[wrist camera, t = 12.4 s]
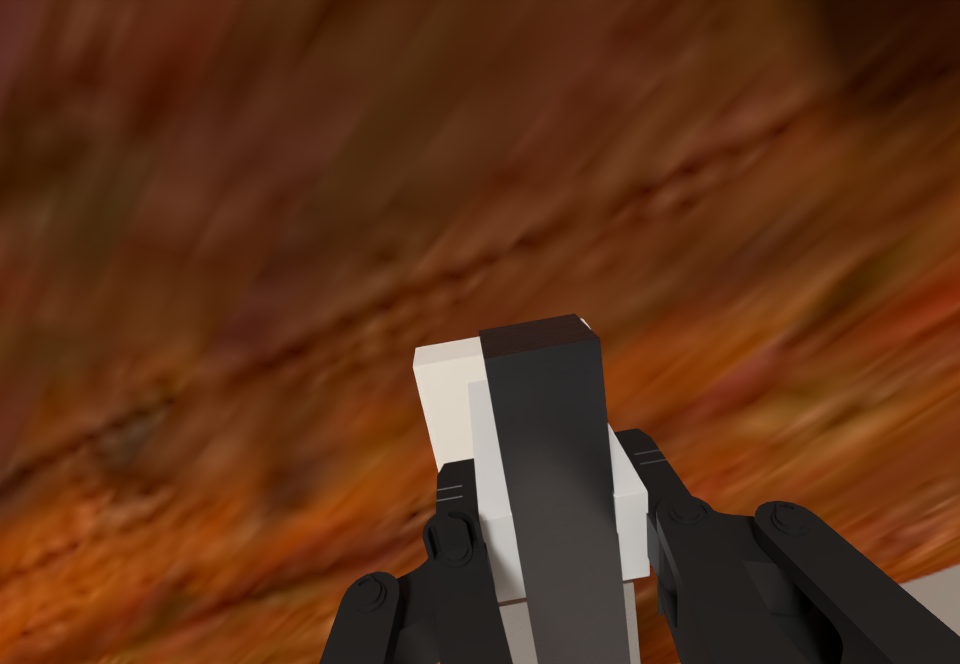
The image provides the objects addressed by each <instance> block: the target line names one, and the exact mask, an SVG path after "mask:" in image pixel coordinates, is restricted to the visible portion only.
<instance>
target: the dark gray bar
mask: <svg viewBox="0 0 960 664" xmlns="http://www.w3.org/2000/svg"><path fill="white" fill-rule="evenodd" d="M479 337H480V343H481V348H482V354H483V359H484V365H485V371H486V376H487V382H488V388H489V393H490V399H491V404H492V410H493V416H494V421H495V427H496V433H497V438H498V444H499V449H500V455H501V461H502V466H503V471H504V477H505V482H506V487H507V493H508V498H509V504H510V509H511V513H512V518H513V524H514V529H515V535H516V541H517V542H516V543H517V548H518V554H519V560H520V565H521V571H522V577H523V582H524V588H525V594H526V597H525V598H520V599H514V600H508V601H502V602H498V604H499V608H500V613H501V617H502V621H503V625H504V629H505V633H506V637H507V641H508V645H509V649H510V653H511V657H512V661H513V664H640V653H639V641H638V630H637V618H636V607H635V595H634V584H633V580H632V579H629V580H623V577H622V567H621V556H620V546H619V535H618V533H617V526H616V516H615V505H614V495H613V494H615V493H614V483H613V473H612V462H611V452H610V441H609V431H608V420H607V410H606V399H605V389H604V378H603V368H602V357H601V347H600V338H599V337H598V336H597V335H596V334H595V333H594V332H593V331H592V330H591V329H590V328H589V327H588V326H587V325H586V324H585V323H584V322H583V321H582V320H581V319H580V318H579V317H578V316H577V315H575V314H570V315H564V316H558V317H553V318H547V319H542V320H536V321H531V322H525V323H519V324H514V325H508V326H503V327H497V328H491V329H486V330H480V331H479Z"/></svg>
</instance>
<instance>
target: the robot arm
mask: <svg viewBox="0 0 960 664" xmlns="http://www.w3.org/2000/svg"><path fill="white" fill-rule="evenodd" d="M468 393H469V405H470V417H471V428H472V440H473V452H474V458H472V459H466V460H460V461H455V462H449V463H444V465H443V466H442V468H441V470H440V472H439V474H438V475H437V502H436V514H435V515H434V516H433V517H431V518H430V519H429V520H428V522H427V524H426V525H425V527H424V530H423V536H422V537H423V540H424V544H425V547H426V551H427V554H428V559H427V560H426V562H424V563H423V564H422V565H421V566H420V567H419V568H417V569H415V570H414V571H412V572H410V573H408V574H406V575H404V576H402V577H400V578H397V579H396V578H395V577H394V576H392V575H391V574H389V573H386V572H374V573H370V574H366V575H365V576H363V577H361V578H359V579H358V580H356V581H355V582H354V583H353V584H352V585H351V586H350V587H349V588H348V589H347V591H346V593H345V595H344V596H343V598H342V600H341V603H340V606H339V609H338V612H337V615H336V618H335V620H334V623H333V626H332V629H331V632H330V635H329V638H328V640H327V643H326V646H325V649H324V652H323V655H322V657H321V660H320V663H319V664H436V663H438V662H440V664H513V661H512V657H511V653H510V649H509V645H508V641H507V637H506V633H505V629H504V625H503V621H502V617H501V613H500V608H499V604H498V602H502V601H508V600H514V599H520V598H525V597H526V594H525V588H524V582H523V577H522V571H521V565H520V560H519V554H518V548H517V543H516V542H517V541H516V535H515V529H514V524H513V518H512V513H511V509H510V504H509V498H508V493H507V487H506V482H505V477H504V471H503V466H502V461H501V455H500V449H499V444H498V438H497V433H496V427H495V421H494V416H493V410H492V404H491V399H490V393H489V388H488V382H487V380H482V381H476V382H470V383H468ZM608 431H609V441H610V452H611V462H612V473H613V483H614V493H615V494H613V495H614V505H615V516H616V526H617V533H618V535H619V546H620V556H621V567H622V577H623V580H629V579H634V578H640V577H646V576H650V567H649V561H650V563H651V565H652V567H653V569H654V571H655V573H656V575H657V588H658V613H659V615H663V609H664V612H665V615H666V618H667V622H668V625H669V628H670V631H671V634H672V637H673V640H674V643H675V646H676V649H677V652H678V655H679V658H680V661H681V664H960V636H958V635H957V634H956V633H955V632H954V631H952V630H951V629H950V628H949V627H948V626H947V625H945V624H944V623H943V622H942V621H940V620H939V619H938V618H937V617H936V616H935V615H934V614H932V613H931V612H930V611H929V610H928V609H926V608H925V607H924V606H923V605H922V604H921V603H919V602H918V601H917V600H916V599H915V598H913V597H912V596H911V595H910V594H909V593H908V592H906V591H905V590H904V589H903V588H902V587H900V586H899V585H898V584H897V583H896V582H895V581H893V580H892V579H891V578H890V577H889V576H887V575H886V574H885V573H884V572H883V571H882V570H880V569H879V568H878V567H877V566H876V565H874V564H873V563H872V562H871V561H870V560H869V559H867V558H866V557H865V556H864V555H863V554H862V553H860V552H859V551H858V550H857V549H856V548H854V547H853V546H852V545H851V544H850V543H849V542H847V541H846V540H845V539H844V538H843V537H841V536H840V535H839V534H838V533H837V532H836V531H834V530H833V529H832V528H831V527H830V526H828V525H827V524H826V523H825V522H824V521H823V520H821V519H820V518H819V517H818V516H817V515H815V514H814V513H812V512H811V511H809V510H808V509H806V508H804V507H802V506H799V505H796V504H794V503H790V502H783V501H772V502H766V503H764V504H762V505H760V506H759V507H758V509H757V510H756V512H755V517H753V516H741V515H730V514H724V513H719V512H716V511H714V510H713V509H712V508H711V507H710V505H709V504H707V503H706V502H704V501H702V500H701V499H699V498H696V497H693V496H691V494H690V493H689V491H688V490H687V489H686V487H685V486H684V484H683V483H682V481H681V480H680V478H679V477H678V476H677V474H676V473H675V471H674V470H673V468H672V467H671V465H670V464H669V463H668V461H666V459H665V457H664V455H663V454H662V452H661V451H659V448H658V447H657V445H656V444H655V442H654V441H653V439H652V438H651V437H650V436H648V435H647V434H645V433H644V432H642V431H641V430H639V429H631V430H625V431H620V432H613V431H612V429H611V427H610V425H609V424H608Z"/></svg>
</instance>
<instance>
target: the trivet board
mask: <svg viewBox="0 0 960 664" xmlns="http://www.w3.org/2000/svg"><path fill="white" fill-rule="evenodd" d="M581 320H582V321H583V322H584V323H585V324H586V322H585V321H584V320H583V319H581ZM586 325H587V324H586ZM587 326H588V325H587ZM588 327H589V326H588ZM589 328H590V327H589ZM413 369H414V374H415V378H416V382H417V386H418V390H419V394H420V398H421V402H422V406H423V410H424V414H425V418H426V422H427V427H428V431H429V435H430V439H431V443H432V447H433V451H434V455H435V459H436V463H437V467H438V471H439V472H440V470H441V468H442V466H443V465H444V463H449V462H455V461H460V460H466V459H472V458H474V452H473V440H472V428H471V417H470V405H469V393H468V383H470V382H476V381H482V380H487V376H486V371H485V365H484V359H483V354H482V348H481V343H480V337H475V338H469V339H464V340H458V341H452V342H446V343H441V344H435V345H429V346H423V347H418V348H416V350H415V357H414V363H413Z"/></svg>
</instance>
